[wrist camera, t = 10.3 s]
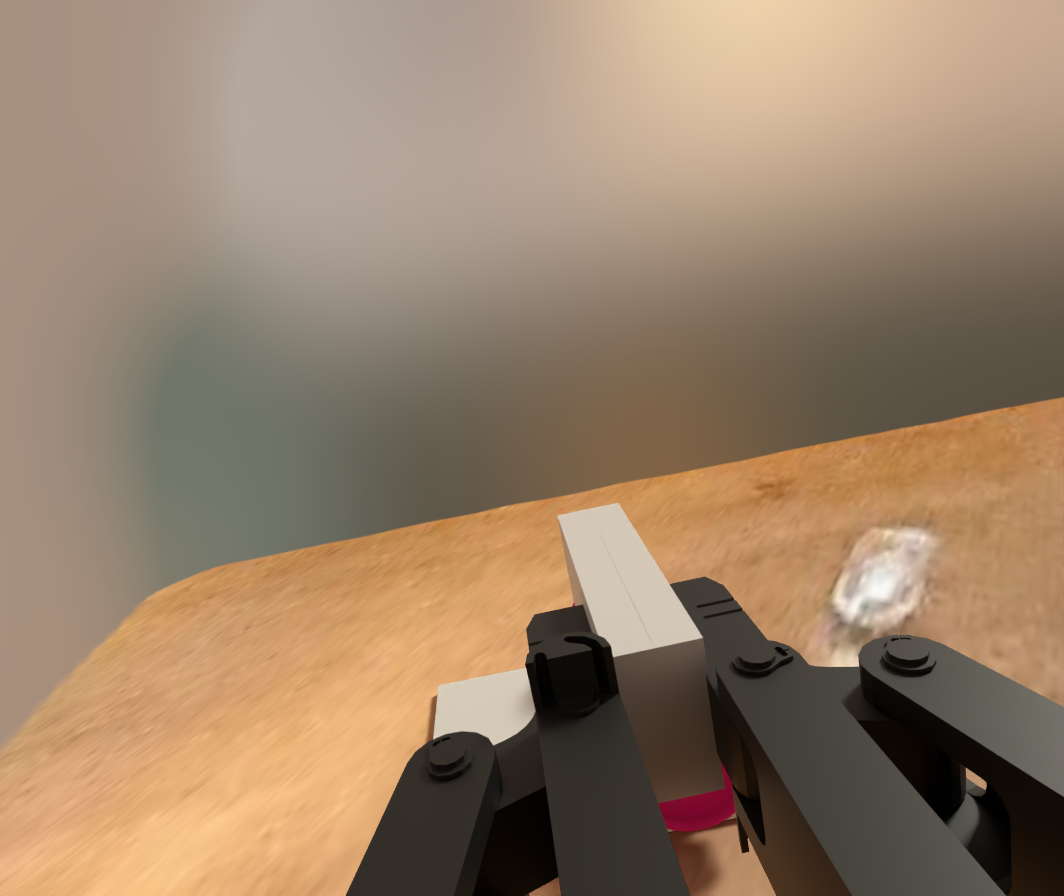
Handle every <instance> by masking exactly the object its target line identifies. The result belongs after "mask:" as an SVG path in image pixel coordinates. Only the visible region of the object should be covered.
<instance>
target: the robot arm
mask: <svg viewBox="0 0 1064 896" xmlns="http://www.w3.org/2000/svg"><path fill="white" fill-rule="evenodd" d="M557 516H558V521H559V527H560V532H561V537H562V542H563V547H564V552H565V558H566V563H567V568H568V573H569V578H570V584H571V589H572V594H573V599H574V604H575V606H573V607H568V608H563V609H559V610H554V611H549V612H545V613H540V614H535V615H534V617H533V618H532V620H531V622H530V624H529V625H528V627H527V629H526V631H527V638H528V645H529V653H528V654H527V658H526V663H525V665H526V670H527V675H528V679H529V684H530V688H531V693H532V698H533V702H534V707H535V713H534V716H533V718H532V719H531V720H530V722H529V723H528V724H527V725H526V726H525V727H524V728H523V729H522V730H520V731H519V732H518V733H517V734H515V735H513V736H512V737H510V738H508V739H506V740H504V741H502V742H500V743H498V744H496V745H493V744H492V743H491V741H490V740H489V738H488V737H485V736H483V735H481V734H479V733H477V732H466V731H460V732H454V733H449V734H444V735H442V736H440V737H437V738H435V739H433V740H431V741H429V742H428V743H426V744H425V745H424V746H422V747H421V748H420V749H418V750H417V751H416V752H415V753H414V755H413V756H412V757H411V759H410V760H409V761H408V763H407V765H406V767H405V769H404V771H403V773H402V775H401V777H400V780H399V782H398V784H397V786H396V788H395V790H394V793H393V795H392V797H391V799H390V801H389V803H388V806H387V808H386V810H385V812H384V814H383V816H382V818H381V821H380V823H379V825H378V827H377V829H376V831H375V834H374V836H373V838H372V840H371V842H370V844H369V847H368V849H367V851H366V853H365V855H364V857H363V859H362V862H361V864H360V866H359V868H358V870H357V872H356V875H355V877H354V879H353V881H352V883H351V885H350V888H349V890H348V892H347V894H346V896H529V893H530V892H532V891H534V890H536V889H538V888H539V887H541V886H543V885H545V884H547V883H548V882H550V881H552V880H554V879H556V878H557V877H559V883H560V890H561V896H690V893H689V890H688V888H687V885H686V882H685V879H684V876H683V873H682V870H681V868H680V865H679V862H678V859H677V856H676V853H675V850H674V848H673V845H672V842H671V839H670V836H669V833H668V830H667V827H666V825H665V822H664V819H663V816H662V813H661V810H660V807H659V805H658V803H662V802H666V801H671V800H675V799H680V798H685V797H689V796H694V795H698V794H703V793H707V792H712V791H716V790H721V789H725V786H724V779H723V772H722V765H721V762H722V764H723V766H724V768H725V770H726V772H727V774H728V776H729V778H730V780H731V784H732V791H733V798H734V805H735V812H736V819H737V826H738V833H739V840H740V845H741V850H742V853H745V852H749V847H748V838H749V840H750V842H751V844H752V846H753V848H754V850H755V852H756V854H757V856H758V858H759V860H760V862H761V865H762V867H763V869H764V871H765V873H766V875H767V877H768V879H769V881H770V883H771V885H772V887H773V889H774V891H775V894H776V896H1064V707H1063V706H1061V705H1059V704H1057V703H1055V702H1053V701H1051V700H1049V699H1048V698H1046V697H1044V696H1042V695H1040V694H1038V693H1036V692H1034V691H1032V690H1030V689H1028V688H1026V687H1024V686H1022V685H1021V684H1019V683H1017V682H1015V681H1013V680H1011V679H1009V678H1007V677H1005V676H1003V675H1001V674H999V673H997V672H995V671H994V670H992V669H990V668H988V667H986V666H984V665H982V664H980V663H978V662H976V661H974V660H972V659H970V658H968V657H967V656H965V655H963V654H961V653H959V652H957V651H955V650H953V649H951V648H949V647H947V646H945V645H943V644H941V643H938V642H935V641H933V640H930V639H927V638H921V637H915V636H911V635H900V636H898V635H892V636H886V637H882V638H878V639H874V640H872V641H871V642H869V643H867V644H866V645H864V646H863V647H862V649H861V651H860V653H859V655H858V656H859V667H817V666H811V665H809V664H808V663H807V662H806V661H805V660H804V659H803V657H802V656H801V655H800V654H799V653H798V652H796V651H795V650H794V649H792V648H791V647H790V646H788V645H785V644H782V643H779V642H776V641H769V640H767V639H766V638H765V636H764V635H763V634H762V633H761V631H760V630H759V629H758V628H757V626H756V625H755V624H754V623H753V621H752V620H751V619H750V618H749V616H748V615H747V614H746V613H745V611H742V608H741V606H740V605H739V604H738V603H737V601H736V600H735V601H734V598H733V597H732V595H731V594H730V593H729V592H728V590H727V589H726V588H725V587H724V585H722V584H719V583H717V582H715V581H713V580H711V579H709V578H707V577H701V578H696V579H691V580H687V581H682V582H677V583H672V584H669V583H668V581H667V580H666V578H665V577H664V575H663V573H662V572H661V570H660V569H659V567H658V565H657V564H656V562H655V561H654V559H653V558H652V556H651V554H650V553H649V551H648V550H647V548H646V546H645V545H644V543H643V542H642V540H641V538H640V537H639V535H638V534H637V532H636V531H635V529H634V527H633V526H632V524H631V523H630V521H629V519H628V518H627V516H626V515H625V513H624V511H623V510H622V508H621V507H620V505H619V504H618V503H615V504H610V505H605V506H601V507H596V508H591V509H586V510H581V511H576V512H572V513H567V514H562V515H557ZM966 768H967V769H969V770H970V771H972V772H973V773H975V774H976V775H978V776H979V777H981V778H982V779H983V780H984V781H986V782H987V788H986V790H984V789H982V788H981V787H979V786H977V785H975V784H974V783H973V782H971V781H970V780H968V779H967V778H966Z"/></svg>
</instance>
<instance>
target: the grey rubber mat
mask: <svg viewBox="0 0 1064 896" xmlns="http://www.w3.org/2000/svg"><path fill="white" fill-rule="evenodd" d="M534 713H535V707H534V702H533V698H532V693H531V688H530V684H529V679H528V675H527V670H526V668H523V669H518V670H513V671H508V672H503V673H498V674H493V675H488V676H483V677H478V678H473V679H468V680H463V681H458V682H453V683H448V684H443V685H439V686H438V696H437V706H436V716H435V726H434V736H433V739H435V738H437V737H440V736H442V735H444V734H449V733H454V732H460V731H466V732H477V733H479V734H481V735H483V736H485V737H488V738H489V740H490V741H491V743H492V744H493V745H496V744H498V743H500V742H502V741H504V740H506V739H508V738H510V737H512V736H513V735H515V734H517V733H518V732H519V731H520V730H522V729H523V728H524V727H525V726H526V725H527V724H528V723H529V722H530V720H531V719H532V718H533V716H534ZM734 818H736V813H734V814H733V815H732V816H731V817H729V818H728V819H726V820H730V819H734ZM667 830H668V832H672V831H674V830H670V829H667Z"/></svg>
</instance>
